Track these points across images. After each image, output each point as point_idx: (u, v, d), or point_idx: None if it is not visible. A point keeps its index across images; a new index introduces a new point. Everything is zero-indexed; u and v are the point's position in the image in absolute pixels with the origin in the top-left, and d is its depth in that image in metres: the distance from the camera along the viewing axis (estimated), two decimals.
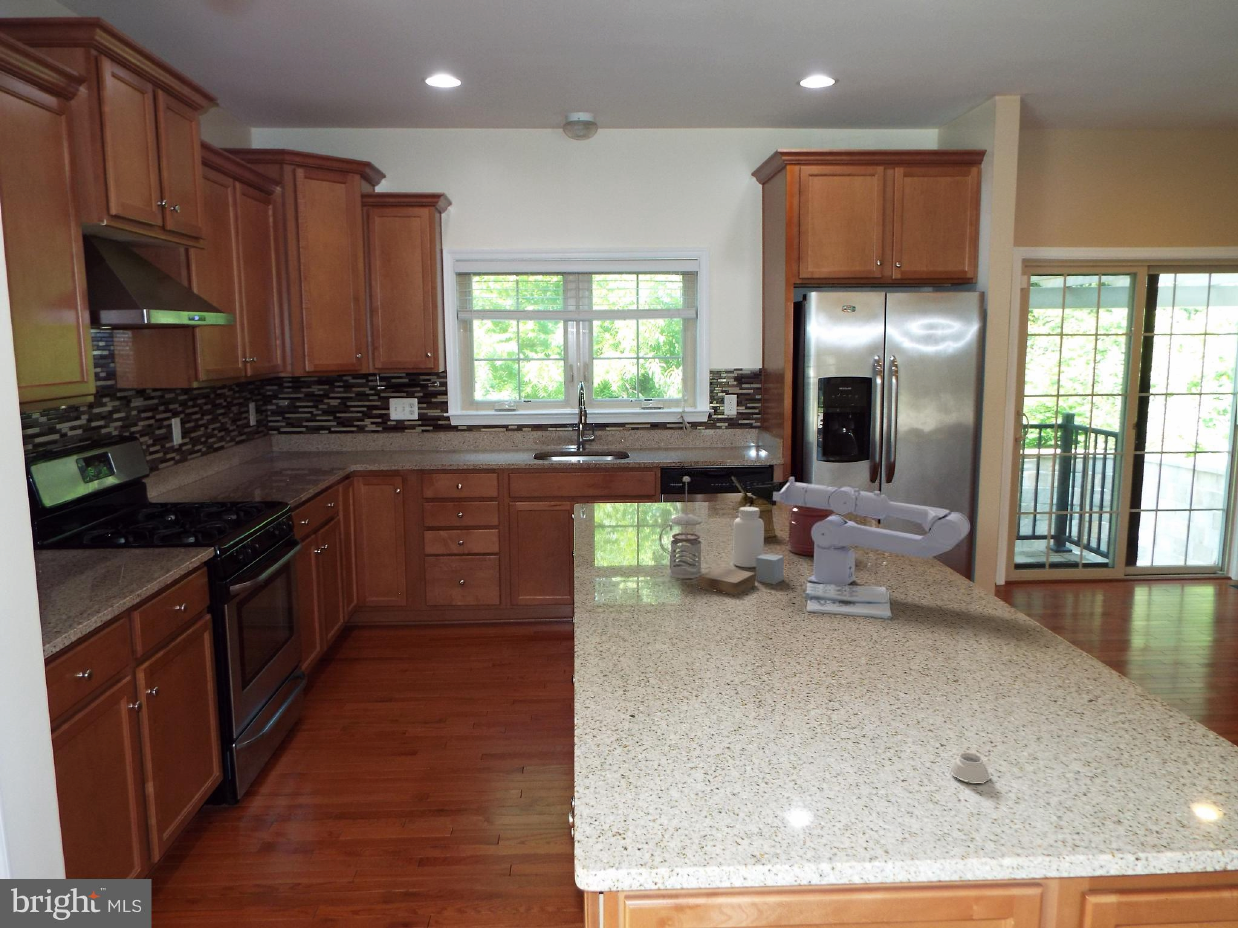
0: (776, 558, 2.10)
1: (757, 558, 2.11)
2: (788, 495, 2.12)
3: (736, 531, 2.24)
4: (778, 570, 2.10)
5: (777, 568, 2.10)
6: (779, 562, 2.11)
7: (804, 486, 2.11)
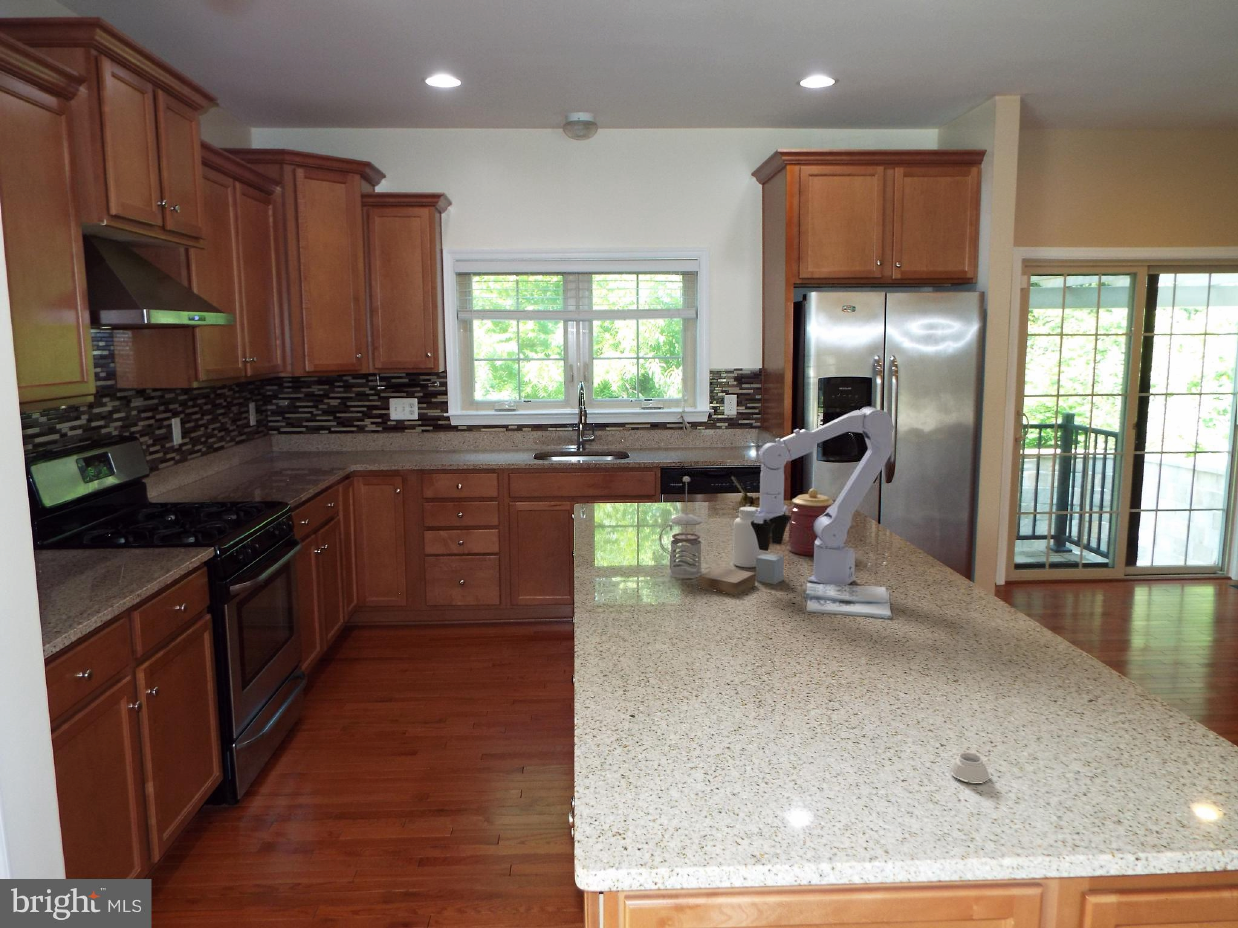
0: (776, 558, 2.10)
1: (757, 558, 2.11)
2: (766, 511, 2.08)
3: (736, 531, 2.24)
4: (778, 570, 2.10)
5: (777, 568, 2.10)
6: (779, 562, 2.11)
7: (760, 495, 2.10)
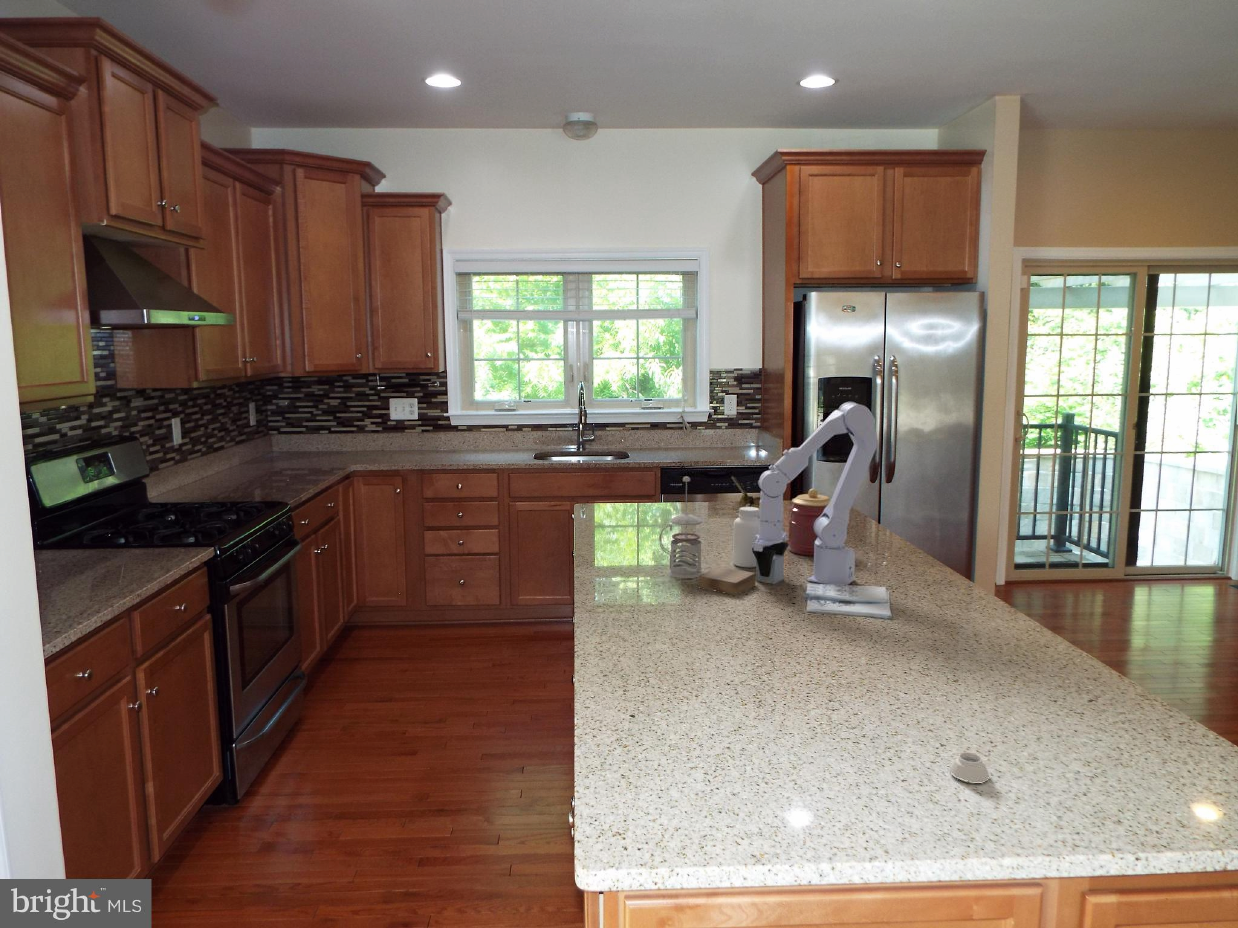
0: (776, 558, 2.10)
1: None
2: (766, 538, 2.09)
3: (736, 531, 2.24)
4: (778, 570, 2.10)
5: (777, 567, 2.10)
6: (779, 562, 2.11)
7: (759, 522, 2.11)
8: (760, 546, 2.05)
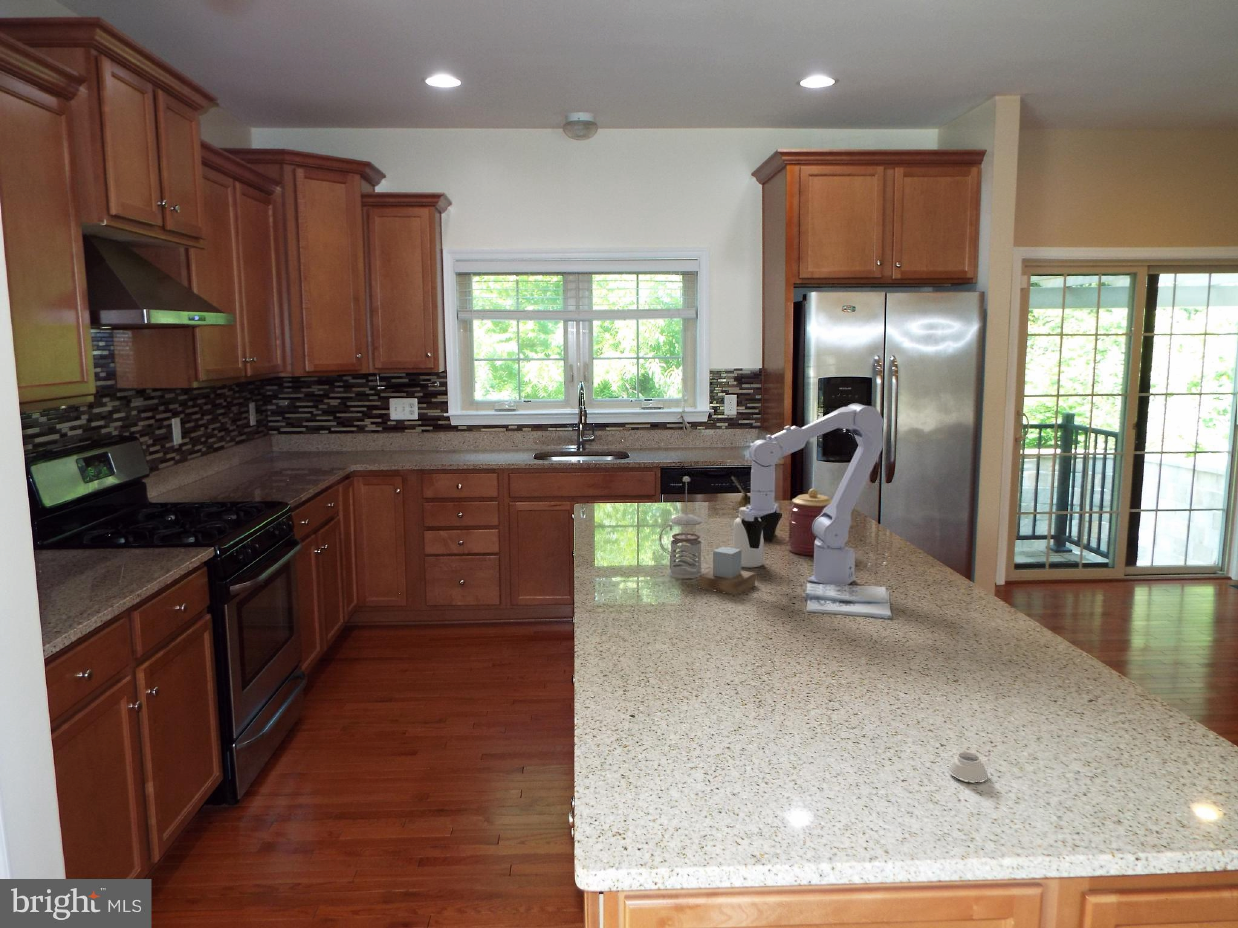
0: (733, 551, 2.04)
1: (714, 552, 2.05)
2: (757, 508, 2.06)
3: (736, 531, 2.24)
4: (735, 564, 2.05)
5: (734, 562, 2.04)
6: (737, 555, 2.05)
7: None
8: (751, 516, 2.02)
